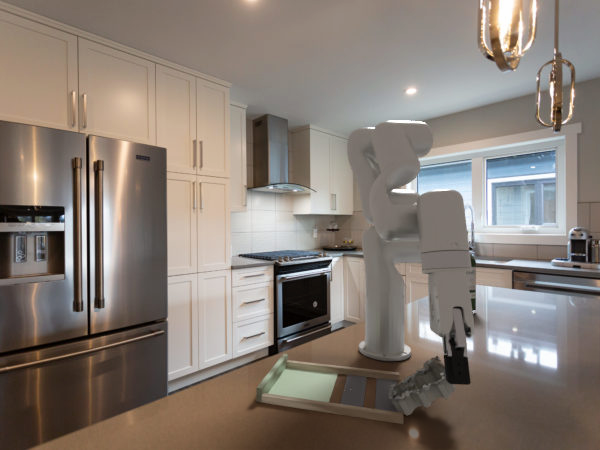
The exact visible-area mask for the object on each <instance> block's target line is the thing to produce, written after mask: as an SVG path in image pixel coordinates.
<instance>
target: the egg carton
mask: <svg viewBox="0 0 600 450" xmlns="http://www.w3.org/2000/svg"><path fill="white" fill-rule="evenodd" d="M389 389H390V391H389V399H392V403H393V404H394V406H395V408H396V409H397V411H398V412H399V413H403V415H405V416H409V415H412V414H413V412H414V411H415V409H418V408H420V407H424V408H429V407H431V406H432V403H433V402H434V401H436V400H437V399H441V398H442V399H444V400H447V399H449V398H450V397H451V395H452V394H453V393H454V392H455V391H456V386H455V384H449V383H448V381H447V380H446V375H445V365H444V364H443V363H442V359H441V358H440V357H439V356H438V355H436V356H435V357H431V358H430V359H429V360H426V361H425V363H423V367H422V368H417V369H416V372H415V373H413V374H411V375H408V376H407V377H405V378H403V379H402V380H401V381H400V382H399V383H397V384H396V383H395V384H394V385H392V386H391V385H390V388H389Z"/></svg>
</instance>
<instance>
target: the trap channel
mask: <svg viewBox="0 0 600 450" xmlns="http://www.w3.org/2000/svg"><path fill="white" fill-rule="evenodd" d="M288 355H289V354H287V353H283V354H282V355H281V357H280V358H279V359H278V360H277V361H276V363H275V364H274V365H273V367H271V369H270V370H269V371H268V373H267V374H266V375H265V376H264V377H263V379H262V380H261V381H260V383H259V384H258V385H257V387H256V388H255V389H256V390H255V391H256V400H255V401H256V403H261V404H262V403H263V404H270V405H275V406H280V407H281V406H282V407H289V408H293V409H294V408H296V409H299V410H301V409H302V410H307V411H315V412H321V413H326V414H327V413H329V414H332V415H333V414H335V415H341V416H347V417H354V418H360V419H366V420H367V419H368V420H374V421H379V422H380V421H381V422H388V423H393V424H401V425H404V414H403V413H399V412H392V411H385V410H378V409H375V408H369V407H364V406H363V407H357V406H350V405H343V404H340V403H335V402H330V401H329V402H323V401H316V400H309V399H302V398H295V397H288V396H281V395H274V394H268V393H269V391H270V390H271V388H272V387H273V386H274V384H275V383H276V381H277V380H278V379H279V377H280V376H281V374H282V373H283V371H284V370H285V369H286V367H290V368H298V369H306V370H315V371H323V372H331V373H338V375H346V376H347V375H356V376H365V377H367V378H371V379H372V378H373V379H374V378H375V379H377V378H381V379H390V380H397V382H398V381H400V377H401V375H400V372H395V371H387V370H380V369H371V368H370V369H369V368H360V367H352V366H351V367H350V366H344V365H343V366H342V365H335V364H326V363H319V362H318V363H317V362H308V361H301V360H300V361H299V360H290V359H289V356H288ZM400 382H401V381H400Z"/></svg>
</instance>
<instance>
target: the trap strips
mask: <svg viewBox="0 0 600 450" xmlns="http://www.w3.org/2000/svg"><path fill="white" fill-rule="evenodd" d="M367 378H368V377H365V376H356V375H347V374H346V380H345V384H344V388H343V392H342V395H341V399H340V403H339V404H343V405H350V406H357V407H364V403H365V394H366V389H367V388H366V386H367ZM395 383H396V384H397V385H398V381H397V380H390V379H381V378H376V385H375V402H374V409H378V410H385V411H392V412H398V411H397V409H396V408H395V406H394V404H393V403H392V399H389V391H390V389H389V388H390V385H391V386H392V385H394V384H395ZM350 389H351V390H350ZM344 390H345V391H344Z"/></svg>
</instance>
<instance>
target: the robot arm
mask: <svg viewBox="0 0 600 450" xmlns="http://www.w3.org/2000/svg"><path fill="white" fill-rule="evenodd" d="M433 145H434V134H433V131H432V128H431V127H430V126H429V125H428V124H427V123H426V122H423V121H415V120H412V121H411V120H385V121H381V122H379V123H378V124H377V125H375V126H366V127H365V126H364V127H360V128H356V129H354V130H353V131H351V132H350V133H349V135H348V137H347V143H346V153H347V159H348V160H347V161H348V163H349V166H350V169H351V170H352V173H353V175H354V177H355V179H356V182H357V186H358V187H357V188H358V194H359V200H360V201H359V202H360V205H361V211H362V216H363V218H364V220H365V222H367V223H368V224H371V225H372V226H370V227H368V228H366V230H364V232H363V234H362V236H361V248H362V249H361V250H362V254H363V255H362V256H363V261H364V271H365V272H364V273H365V275H364V277H365V278H364V279H365V282H364V284H365V286H364V287H365V293H364V294H365V296H364V298H365V306H364V307H365V308H364V310H365V311H364V313H365V319H364V324H365V326H364V330H365V331H364V335H365V336H364V337H365V338H364V340H362V341H360V342H359V344H358V350H359V352H360V353H361V354H362V355H364V356H365V357H367V358H369V359H373V360H378V361H382V362H400V361H404V360H407V359H409V358H410V357H411V356H412V349H411V347H410V346H408V344H406V343H405V324H406V323H405V318H406V317H405V315H406V314H405V312H406V311H405V310H406V309H405V307H406V306H405V304H406V303H405V302H406V300H405V299H406V298H405V296H406V295H405V291H406V290H405V289H406V288H405V287H406V286H405V284H406V283H405V280H404V277H403V276H402V274H401V273H400V271H399V270H398V269H397V267H396V265H397V264H421V272H422V273H421V274H424V275H427V295H428V296H427V297H428V298H427V299H428V312H429V313H428V314H429V327H430V328H429V329H430V331H432V333H434V334H435V335H437V336H438V337H440V338H441V339H442V340H441V341H442V350H443V363H444V364H443V365H444V366H445V375H446V380H447V381H448V383H449V384H453V385H462V386H463V385H464V386H465V385H467V386H469V385H470V384H471V383H472V382H471V375H470V366H469V364H470V363H469V357H468V343H467V338H469V339H470V338H472V337H473V336H474V334H475V324H474V323H475V322H474V321H475V320H474V314H473V312H472V304H471V298H470V291H469V286H468V285H469V284H468V280H467V275H466V272H472V269H471V268H472V267H471V259H470V255H471V252H470V247H469V246H470V245H469V235H467V230H468V228H467V227H468V226H467V221H466V212H465V211H466V210H465V203H464V198H463V195H462V193H460V192H459V191H457V190H455V189H451V188H450V189H449V188H443V189H442V188H441V189H434V190H429V191H427V192H424V193H421V194H419V193H418V192H417V191H415V190H411V189H399V188H402V187H404V186H405V185H408V184H410V183H412V182H413V181H414V180H416V178H417V177H418V175H419V173H420V172H421V162H420V159H419V158H423V157H425V156H427V155H428V154H429V153H430V152H431V150H432V148H433ZM374 159H376V161H375V160H374ZM395 264H396V265H395Z"/></svg>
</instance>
